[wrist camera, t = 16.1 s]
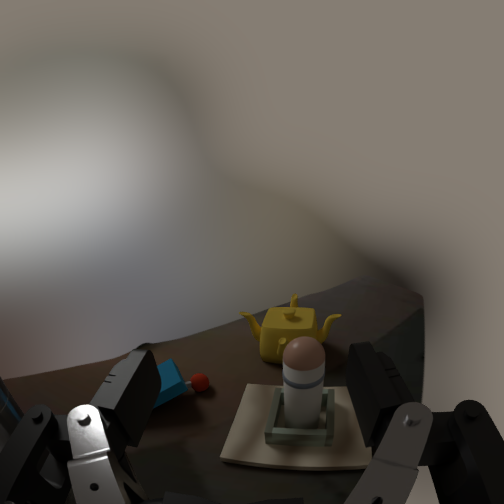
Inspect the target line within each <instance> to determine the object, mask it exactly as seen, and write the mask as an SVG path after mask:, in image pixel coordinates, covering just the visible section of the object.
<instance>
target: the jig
mask: <svg viewBox="0 0 504 504" xmlns="http://www.w3.org/2000/svg"><path fill="white" fill-rule="evenodd" d="M220 459H221V461H224V462H230V463H236V464H242V465H249V466H257V467H265V468H275V469H289V470H314V471H330V470H355V469H366V468H367V466H368V465H369V463H370V461H371V459H372V451H371V447H368V448H366V447H365V444H364V440H363V437H362V434H361V430H360V427H359V424H358V420H357V417H356V414H355V411H354V408H353V404H352V401H351V398H350V395H349V392H348V389H347V387H323V392H322V402H321V411H320V420H319V426H318V428H317V429H291V428H286V427H285V412H284V386H272V385H258V384H247V387H246V389H245V392H244V395H243V398H242V400H241V403H240V406H239V408H238V411H237V414H236V416H235V419H234V422H233V424H232V427H231V430H230V432H229V435H228V437H227V440H226V443H225V445H224V448H223V450H222V453H221V455H220Z"/></svg>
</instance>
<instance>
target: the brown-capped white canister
mask: <svg viewBox="0 0 504 504" xmlns="http://www.w3.org/2000/svg"><path fill="white" fill-rule="evenodd" d="M282 373H283V380H284V412H285V427H286V428H291V429H317V428H318V426H319V420H320V411H321V402H322V392H323V381H324V377H325V351H324V348H323V346H322V345H321V343H320V342H319V341H317V340H316V339H314V338H311V337H306V336H304V337H298V338H296V339H294V340H292V341H291V342H290V343H289V344H288V345H287V346H286V348H285V350H284V353H283V371H282Z"/></svg>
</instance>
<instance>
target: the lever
mask: <svg viewBox="0 0 504 504" xmlns="http://www.w3.org/2000/svg"><path fill="white" fill-rule="evenodd" d="M157 368H158V371H159V374H160V376H161V382H162V385H161V391H160V393H159V396H158V398H157V400H156V403H155V405H154V408H155V407H157V406H159V405H161V404H163V403H165V402H167V401H169V400H171V399H172V398H174V397H176V396H178V395H180V394H182V393H183V392H185V391H187V390H188V388H191V387H192V388H193V389H194V390H195V391H198V392H202V391H205V390H206V389H207V388H208V386H209V380H208V378H207V377H206V376H205V375H204V374H200V373H199V374H195V375H193V376H192V378H191V380H190V381H188V382H184V380H183V378H182V376H181V374H180V371H179V369H178V367H177V366H176V364H175V363H174V362H173V360H172V359H169V360H167V361H165V362H164V363H162V364H160V365H158V366H157Z"/></svg>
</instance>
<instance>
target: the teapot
mask: <svg viewBox="0 0 504 504" xmlns="http://www.w3.org/2000/svg"><path fill="white" fill-rule="evenodd" d="M297 297H298V296H297V294H293V295H292V298H291V304H290V307H275V308H270V309H269V310H268V312H267V314H266V316H265V319H264V321H263V324H262V327H260V326H259V325H258V324H257V322H256V320H255V318H254V317H253V316H252V315H251V314H250V313H247V312H239V314H241V315H243V316H244V317H245V318H246V319H247V320H248V322H249V324H250V328H251V331H252V334H253V336H254V338H255V339H256V340H257V341H259V342H260V356H261V358H262V360H263V361H264V362H268V363H275V364H283V353H284V350H285V348H286V346H287V345H288V344H289V343H290V342H291V341H292V340H294V339H296V338H298V337H304V336H306V337H311V338H314V339H316V340H317V341H319V342H320V343H323V342H324V341H325V340H326V338H327V336H328V334H329V330H330V327H331V324H332V323H333V321H334V320H335V319H337V318H338V317H340V316H341V314H334V315H331V316H329V317H328V318H327V319H326V321H325V323H324V326H323V328H322V329H320V330H318V328H317V320H316V314H315V310H314V309H312V308H298V303H297Z"/></svg>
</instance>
